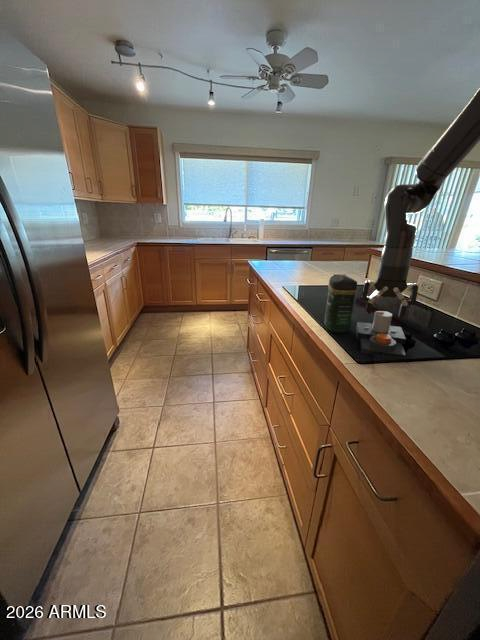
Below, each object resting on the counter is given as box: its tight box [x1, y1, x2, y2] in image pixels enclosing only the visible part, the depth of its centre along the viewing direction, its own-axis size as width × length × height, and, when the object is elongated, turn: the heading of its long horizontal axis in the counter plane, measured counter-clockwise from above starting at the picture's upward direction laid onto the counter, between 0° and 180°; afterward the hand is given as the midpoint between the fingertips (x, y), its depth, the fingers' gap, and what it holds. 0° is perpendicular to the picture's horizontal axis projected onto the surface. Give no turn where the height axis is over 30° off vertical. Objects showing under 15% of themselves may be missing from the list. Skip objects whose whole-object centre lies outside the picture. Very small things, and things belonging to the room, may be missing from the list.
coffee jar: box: [323, 273, 358, 334], centre depth 88 cm, size 10×8×19 cm
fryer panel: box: [355, 321, 407, 345], centre depth 83 cm, size 13×9×3 cm
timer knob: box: [372, 310, 393, 333], centre depth 81 cm, size 5×5×6 cm
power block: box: [359, 335, 407, 357], centre depth 76 cm, size 11×7×4 cm, turn 69°
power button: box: [376, 333, 391, 344], centre depth 75 cm, size 4×4×2 cm
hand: (384, 314), depth 81 cm, fingers open, 8 cm apart
